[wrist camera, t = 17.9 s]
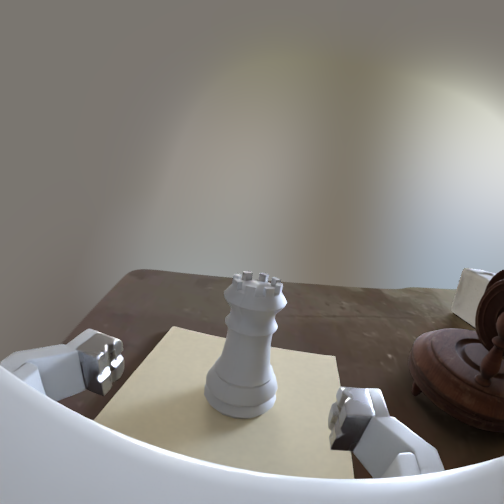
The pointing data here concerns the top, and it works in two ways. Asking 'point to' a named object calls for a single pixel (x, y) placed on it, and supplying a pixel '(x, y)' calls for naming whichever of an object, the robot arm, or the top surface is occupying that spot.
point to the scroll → (466, 364)
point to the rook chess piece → (247, 349)
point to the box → (470, 293)
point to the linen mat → (224, 427)
